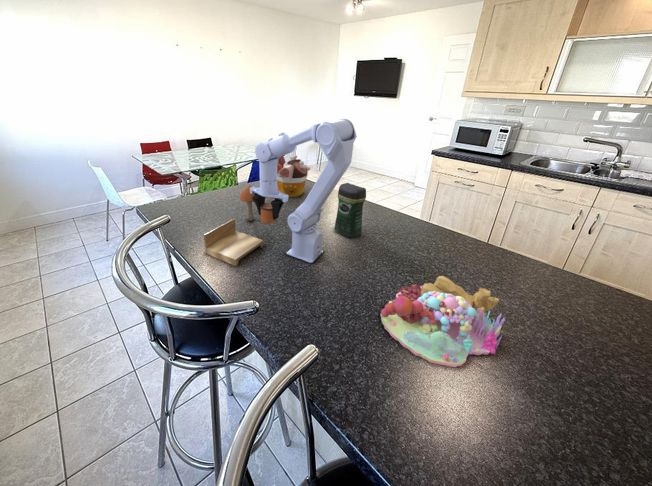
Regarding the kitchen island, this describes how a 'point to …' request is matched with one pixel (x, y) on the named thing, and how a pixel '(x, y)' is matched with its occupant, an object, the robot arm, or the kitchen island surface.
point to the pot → (267, 213)
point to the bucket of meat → (291, 176)
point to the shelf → (229, 243)
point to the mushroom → (248, 201)
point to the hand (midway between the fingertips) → (268, 216)
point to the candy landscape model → (443, 322)
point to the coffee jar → (350, 209)
